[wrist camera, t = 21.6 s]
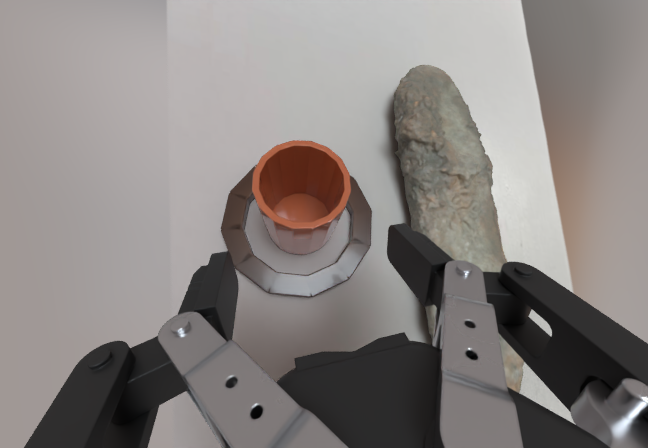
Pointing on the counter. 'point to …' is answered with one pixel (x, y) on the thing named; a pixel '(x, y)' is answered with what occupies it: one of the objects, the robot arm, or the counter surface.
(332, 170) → the cup
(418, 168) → the elongated rock
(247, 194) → the ring
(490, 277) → the robot arm
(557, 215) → the counter surface
